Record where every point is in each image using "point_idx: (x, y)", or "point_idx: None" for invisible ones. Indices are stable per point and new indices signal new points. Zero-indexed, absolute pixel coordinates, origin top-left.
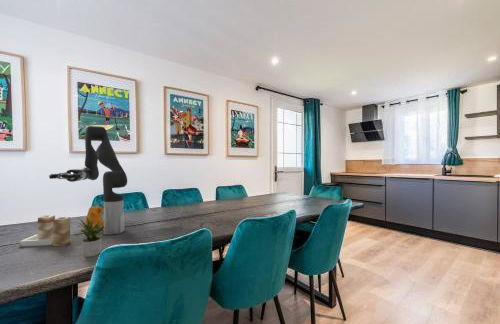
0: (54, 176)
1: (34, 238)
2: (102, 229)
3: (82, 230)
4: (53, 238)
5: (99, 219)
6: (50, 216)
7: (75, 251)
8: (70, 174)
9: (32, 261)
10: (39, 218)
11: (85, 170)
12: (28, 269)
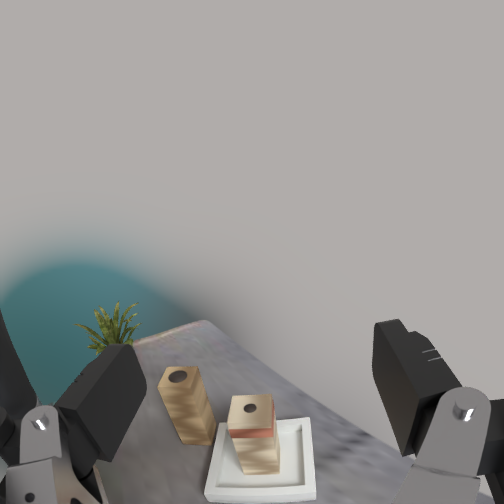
0: (400, 409)
1: (303, 459)
2: (95, 343)
3: (126, 341)
4: (210, 409)
5: None
6: (234, 407)
7: (155, 391)
8: (87, 377)
9: (216, 364)
10: (265, 396)
11: None
12: (206, 346)
